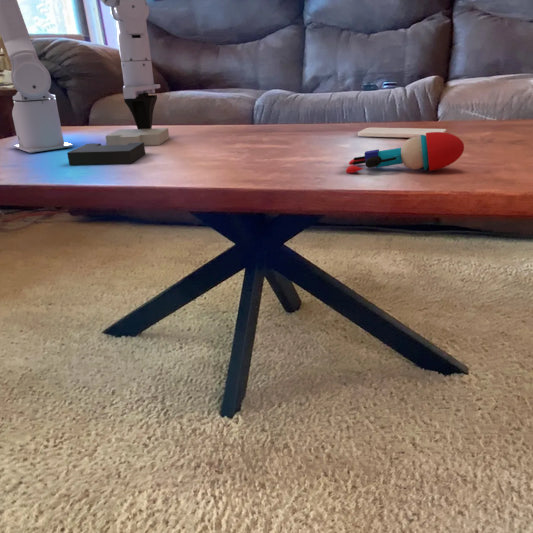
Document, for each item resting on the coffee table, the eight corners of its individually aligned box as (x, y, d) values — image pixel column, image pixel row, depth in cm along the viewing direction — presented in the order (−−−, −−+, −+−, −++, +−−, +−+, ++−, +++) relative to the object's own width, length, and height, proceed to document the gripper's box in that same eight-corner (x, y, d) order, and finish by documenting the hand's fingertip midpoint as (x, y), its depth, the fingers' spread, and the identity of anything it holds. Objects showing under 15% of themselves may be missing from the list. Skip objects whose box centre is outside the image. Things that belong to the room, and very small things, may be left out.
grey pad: (120, 139, 103) (119, 129, 102) (169, 138, 103) (168, 128, 102) (103, 148, 94) (101, 137, 93) (156, 147, 93) (155, 135, 93)
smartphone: (368, 127, 101) (447, 128, 94) (367, 131, 101) (446, 133, 95) (356, 132, 95) (440, 134, 88) (356, 136, 95) (439, 139, 89)
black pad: (88, 155, 88) (86, 143, 87) (145, 154, 87) (144, 142, 86) (69, 165, 80) (66, 152, 80) (131, 163, 80) (129, 150, 79)
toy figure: (347, 186, 68) (467, 169, 63) (341, 148, 66) (464, 128, 62) (353, 177, 74) (462, 161, 70) (349, 143, 73) (460, 125, 68)
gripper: (146, 61, 91) (155, 138, 96) (165, 59, 105) (172, 127, 110) (107, 62, 92) (119, 139, 97) (132, 60, 105) (140, 128, 110)
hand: (145, 133), depth 103 cm, fingers closed
